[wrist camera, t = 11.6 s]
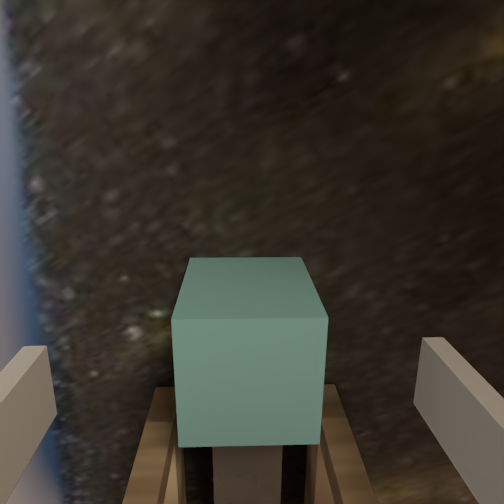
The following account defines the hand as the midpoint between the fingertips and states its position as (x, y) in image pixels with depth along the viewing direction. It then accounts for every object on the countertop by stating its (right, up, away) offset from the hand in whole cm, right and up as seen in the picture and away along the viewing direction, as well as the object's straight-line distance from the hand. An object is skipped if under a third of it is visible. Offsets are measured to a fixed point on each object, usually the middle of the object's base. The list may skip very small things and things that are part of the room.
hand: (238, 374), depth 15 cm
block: (0, +2, +5) cm, 5 cm away
